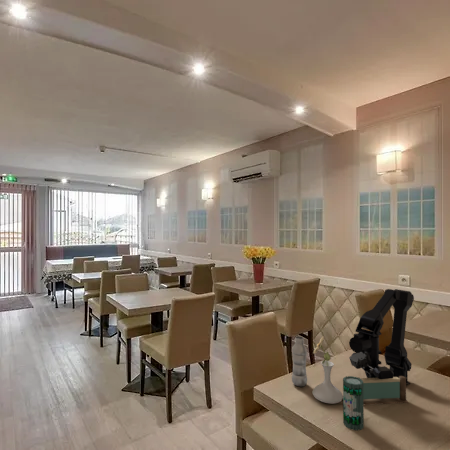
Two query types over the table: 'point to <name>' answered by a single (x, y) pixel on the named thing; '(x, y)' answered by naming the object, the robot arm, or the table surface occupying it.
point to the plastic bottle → (299, 362)
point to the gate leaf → (381, 388)
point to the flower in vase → (326, 381)
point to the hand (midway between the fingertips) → (371, 386)
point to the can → (353, 403)
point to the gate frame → (390, 400)
